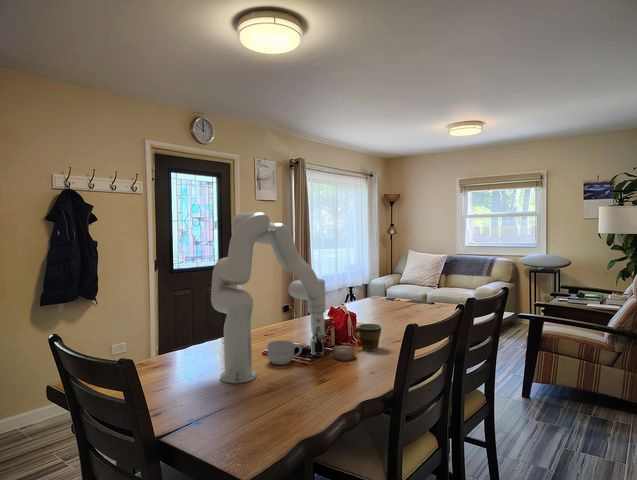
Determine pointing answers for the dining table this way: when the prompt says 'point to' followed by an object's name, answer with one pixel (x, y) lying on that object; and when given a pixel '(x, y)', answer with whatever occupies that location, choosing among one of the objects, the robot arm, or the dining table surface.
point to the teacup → (282, 351)
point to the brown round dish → (343, 353)
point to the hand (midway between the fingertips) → (317, 348)
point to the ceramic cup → (369, 336)
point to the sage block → (312, 346)
